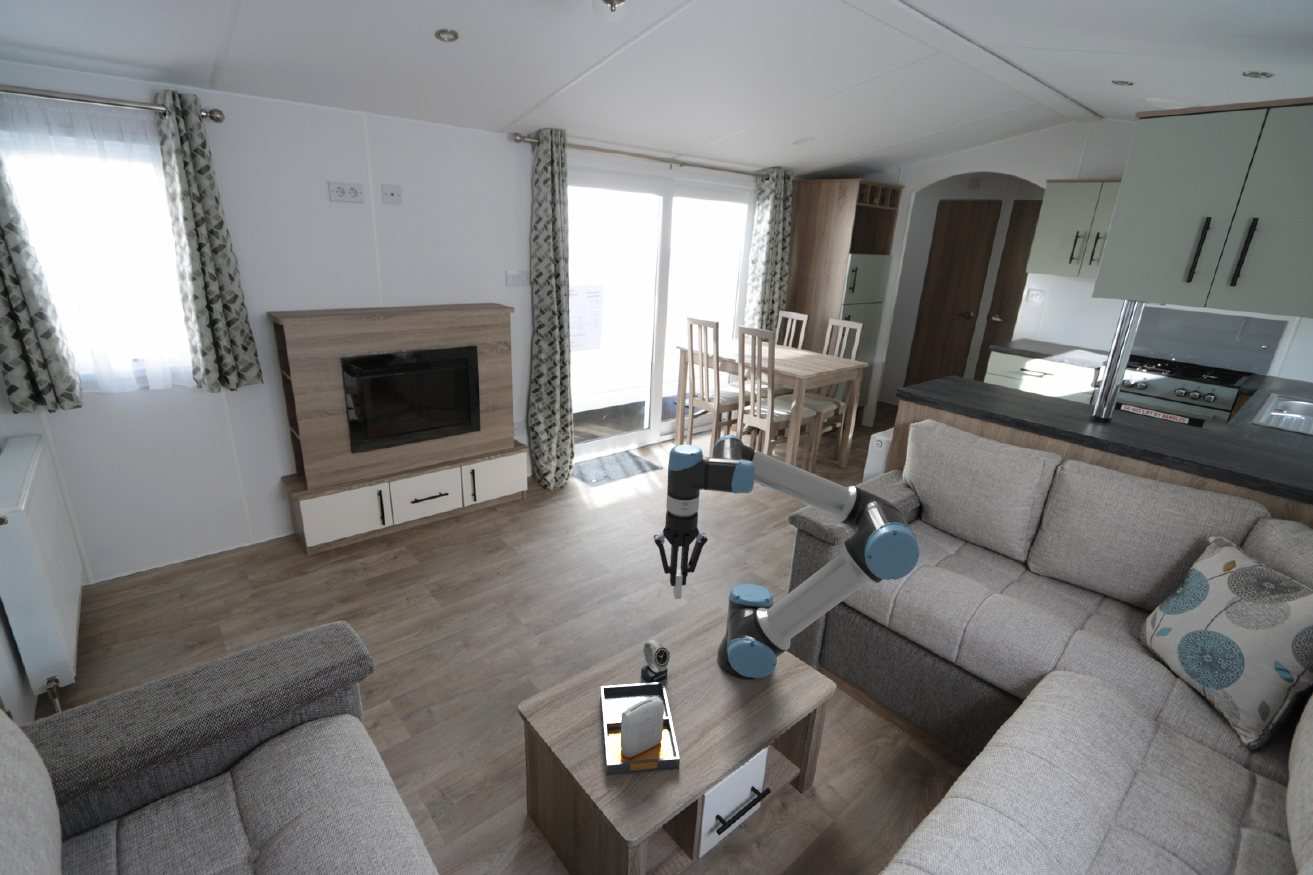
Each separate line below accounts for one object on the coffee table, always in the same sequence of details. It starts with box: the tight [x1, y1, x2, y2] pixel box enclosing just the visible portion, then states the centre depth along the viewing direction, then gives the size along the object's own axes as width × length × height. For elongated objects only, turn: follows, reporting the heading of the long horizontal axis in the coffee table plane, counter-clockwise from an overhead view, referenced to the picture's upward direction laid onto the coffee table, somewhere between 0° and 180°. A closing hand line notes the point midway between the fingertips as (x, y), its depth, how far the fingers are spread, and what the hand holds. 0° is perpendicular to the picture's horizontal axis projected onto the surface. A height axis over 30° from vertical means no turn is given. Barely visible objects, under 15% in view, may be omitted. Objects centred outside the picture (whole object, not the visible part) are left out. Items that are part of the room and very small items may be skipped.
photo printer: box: [620, 697, 664, 758], centre depth 139 cm, size 10×4×12 cm, turn 123°
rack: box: [600, 681, 681, 776], centre depth 146 cm, size 16×24×3 cm
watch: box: [640, 638, 671, 683], centre depth 162 cm, size 6×8×11 cm
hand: (677, 595), depth 150 cm, fingers closed
